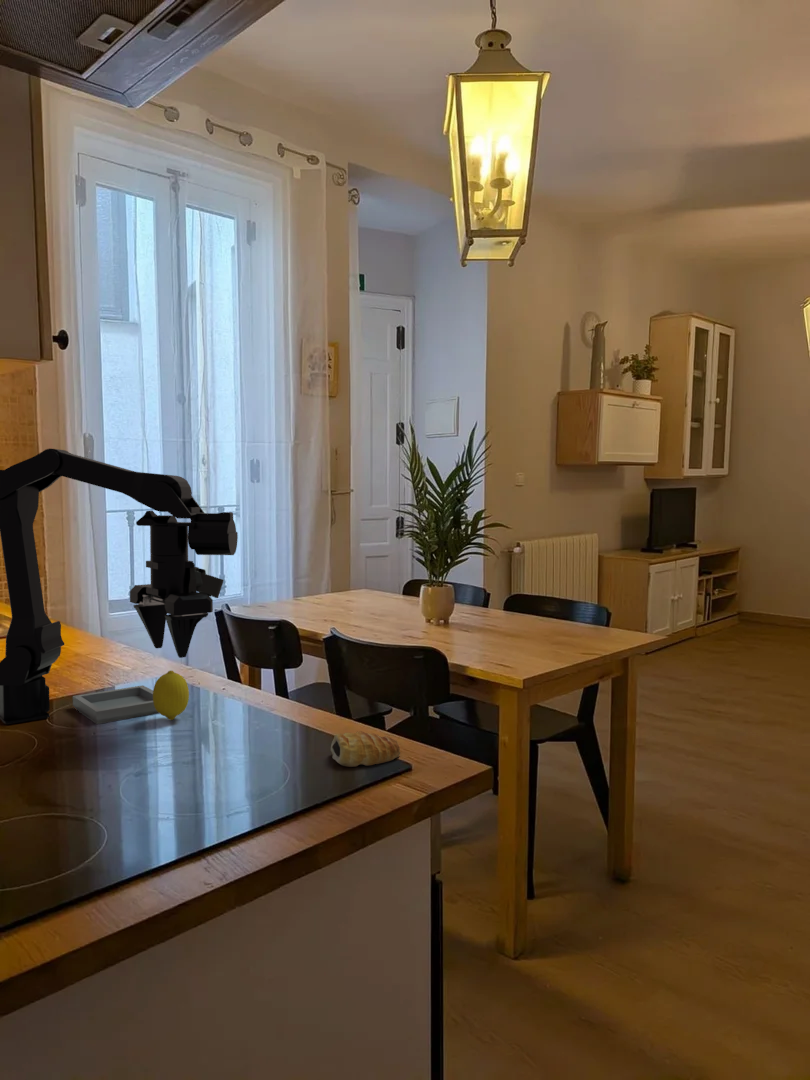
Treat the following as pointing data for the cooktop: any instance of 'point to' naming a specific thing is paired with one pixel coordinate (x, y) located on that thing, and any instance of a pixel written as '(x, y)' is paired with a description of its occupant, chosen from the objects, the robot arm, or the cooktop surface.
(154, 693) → the lemon
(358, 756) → the pastry
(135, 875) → the cooktop surface
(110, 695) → the dish
